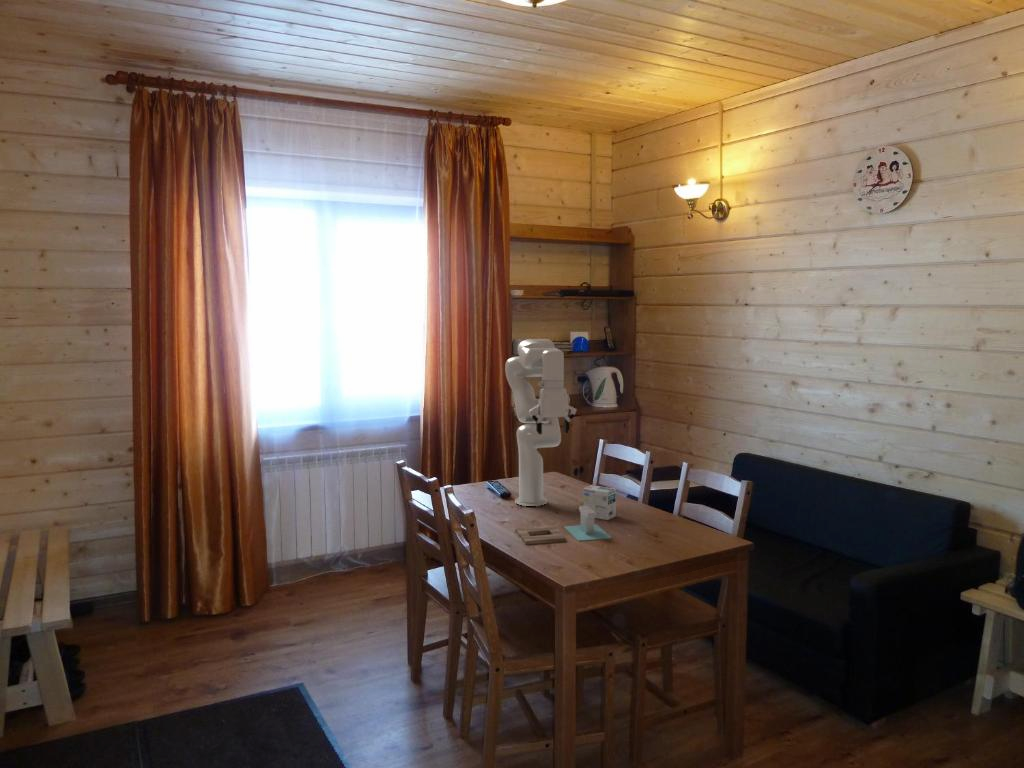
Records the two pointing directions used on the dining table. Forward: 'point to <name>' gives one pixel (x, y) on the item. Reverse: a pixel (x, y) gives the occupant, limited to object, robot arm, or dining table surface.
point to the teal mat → (582, 536)
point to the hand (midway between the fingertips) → (552, 433)
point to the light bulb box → (600, 501)
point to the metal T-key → (587, 520)
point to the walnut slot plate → (553, 537)
